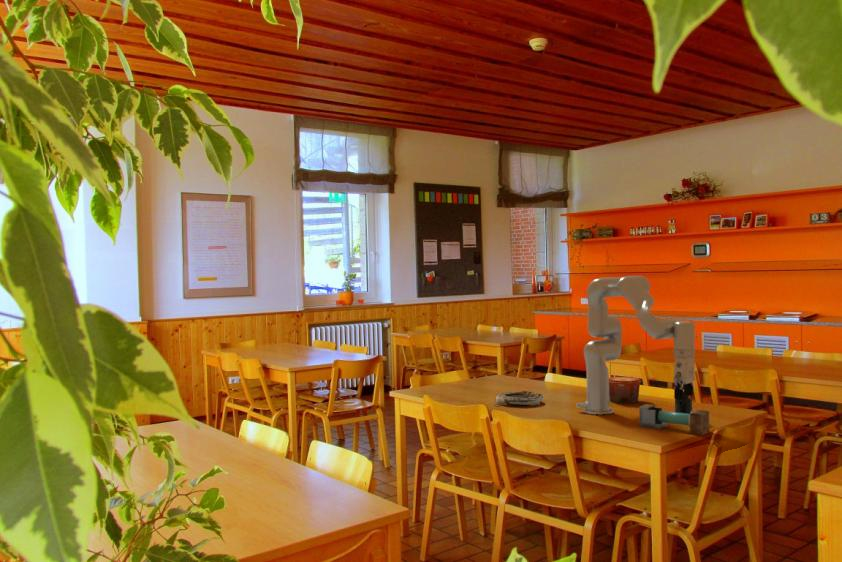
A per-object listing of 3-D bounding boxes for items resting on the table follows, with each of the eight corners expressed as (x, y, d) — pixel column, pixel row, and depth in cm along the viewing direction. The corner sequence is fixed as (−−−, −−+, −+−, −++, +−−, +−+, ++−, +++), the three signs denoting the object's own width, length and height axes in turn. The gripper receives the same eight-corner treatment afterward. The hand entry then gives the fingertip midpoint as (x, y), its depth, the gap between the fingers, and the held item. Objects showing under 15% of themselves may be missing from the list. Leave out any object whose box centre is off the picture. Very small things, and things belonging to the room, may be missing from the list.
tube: (656, 425, 280) (656, 409, 280) (663, 422, 285) (663, 406, 285) (698, 431, 270) (697, 414, 269) (704, 428, 274) (703, 411, 274)
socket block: (690, 434, 271) (689, 413, 271) (698, 430, 277) (697, 409, 277) (701, 435, 268) (701, 414, 268) (709, 431, 274) (708, 411, 274)
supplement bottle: (695, 421, 292) (695, 392, 291) (679, 422, 291) (679, 392, 291) (688, 418, 298) (687, 389, 298) (672, 418, 298) (671, 390, 298)
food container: (638, 398, 345) (638, 376, 344) (644, 404, 329) (643, 381, 329) (604, 398, 347) (604, 376, 347) (608, 404, 331) (608, 381, 331)
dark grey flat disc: (531, 396, 357) (531, 386, 357) (562, 406, 332) (562, 396, 332) (481, 402, 346) (481, 392, 346) (510, 413, 321) (509, 402, 321)
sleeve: (639, 426, 285) (639, 406, 284) (646, 423, 290) (646, 404, 290) (660, 429, 279) (659, 409, 279) (667, 426, 284) (666, 406, 284)
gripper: (685, 356, 266) (684, 402, 267) (702, 351, 279) (701, 395, 280) (665, 355, 271) (665, 399, 272) (682, 349, 284) (682, 392, 285)
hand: (683, 397), depth 276 cm, fingers open, 9 cm apart
